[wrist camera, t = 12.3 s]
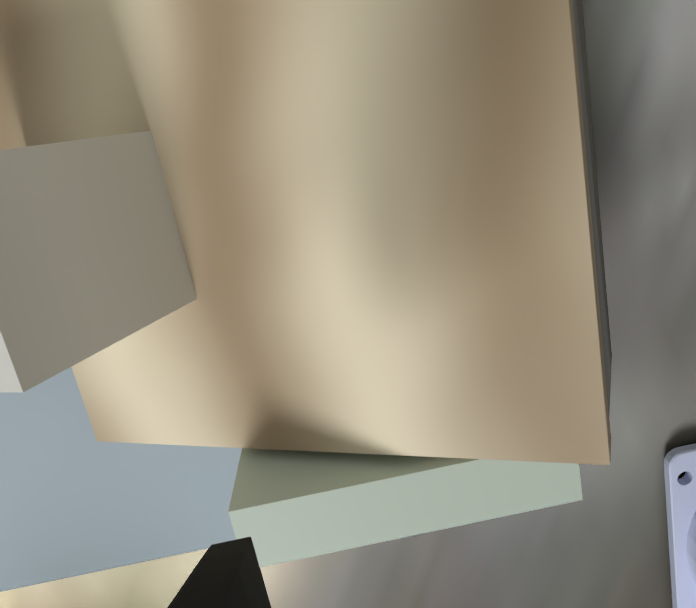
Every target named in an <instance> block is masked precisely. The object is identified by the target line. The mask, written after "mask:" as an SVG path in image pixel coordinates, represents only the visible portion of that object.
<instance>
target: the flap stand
mask: <svg viewBox="0 0 696 608" xmlns="http://www.w3.org/2000/svg"><path fill="white" fill-rule="evenodd" d="M580 500H583V499H582V490H581V480H580V471H579V464H575V463H554V462H532V461H510V460H489V459H467V458H445V457H424V456H402V455H380V454H359V453H337V452H315V451H294V450H272V449H250V448H242V451H241V455H240V460H239V464H238V469H237V474H236V478H235V483H234V487H233V492H232V497H231V501H230V506H229V511H228V513H229V516H230V520H231V523H232V527H233V530H234V533H235V537H236V539H241V538H246V537H251V539H252V542H253V546H254V549H255V553H256V556H257V560H258V563H259V567H265V566H269V565H274V564H279V563H284V562H288V561H293V560H298V559H303V558H308V557H312V556H317V555H322V554H327V553H331V552H336V551H341V550H346V549H351V548H355V547H360V546H365V545H370V544H374V543H379V542H384V541H389V540H393V539H398V538H410V537H415V536H419V535H422V534H424V533H427V532H432V531H436V530H441V529H446V528H451V527H456V526H460V525H465V524H470V523H475V522H479V521H484V520H489V519H494V518H498V517H503V516H508V515H513V514H518V513H522V512H527V511H532V510H537V509H541V508H546V507H551V506H556V505H560V504H565V503H570V502H575V501H580Z"/></svg>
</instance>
